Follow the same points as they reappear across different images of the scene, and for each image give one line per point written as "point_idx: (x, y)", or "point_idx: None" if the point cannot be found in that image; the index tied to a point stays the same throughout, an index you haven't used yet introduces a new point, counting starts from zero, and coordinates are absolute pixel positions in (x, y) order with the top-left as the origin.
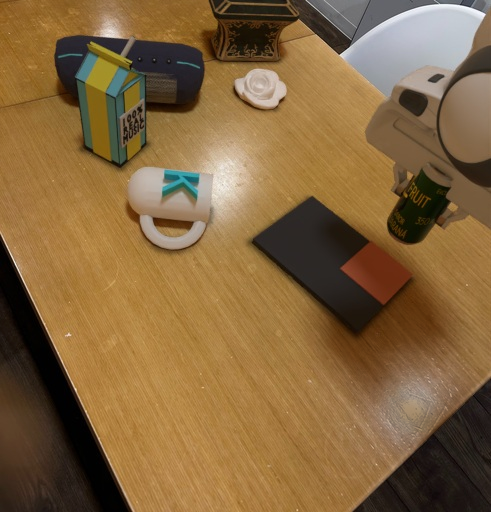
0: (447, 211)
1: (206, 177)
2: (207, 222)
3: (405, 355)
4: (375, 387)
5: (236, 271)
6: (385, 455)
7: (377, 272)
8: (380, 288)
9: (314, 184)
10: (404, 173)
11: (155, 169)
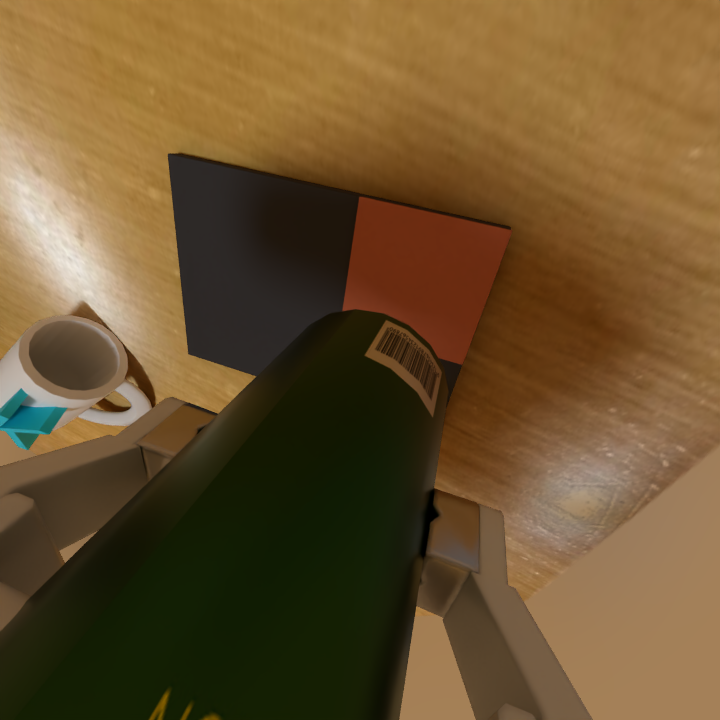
0: (436, 574)
1: (19, 376)
2: (124, 377)
3: (546, 426)
4: (504, 492)
5: (223, 407)
6: (548, 563)
7: (416, 289)
8: (440, 330)
9: (146, 83)
10: (92, 485)
11: None
